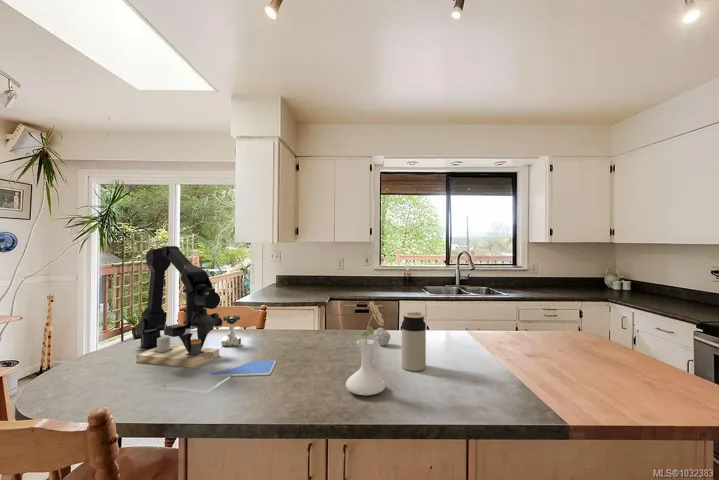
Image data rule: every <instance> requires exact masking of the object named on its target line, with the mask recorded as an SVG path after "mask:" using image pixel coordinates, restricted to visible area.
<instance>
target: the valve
mask: <svg viewBox="0 0 719 480" xmlns="http://www.w3.org/2000/svg"><path fill="white" fill-rule="evenodd" d="M240 317H241V316H240V315H237V316H236V315H232V316H231V315H227V316H224V317H223V319H222V322H226V323H227V324H229V326H228V330H229V331H228V332H227V336H224V337H222V340H221V347H229V348H231V347H240V346H241V344H242V338H241V337H240V336H236V332H235V331H234V329H235V326H234V324H235V323H237V322H238V321H239V320H241V318H240Z"/></svg>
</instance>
